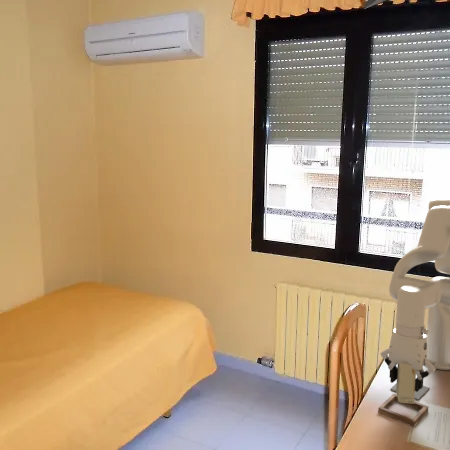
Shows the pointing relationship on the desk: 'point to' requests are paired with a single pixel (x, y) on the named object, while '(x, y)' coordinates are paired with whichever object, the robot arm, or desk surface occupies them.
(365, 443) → the desk surface
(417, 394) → the rubber mat
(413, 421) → the square wooden frame
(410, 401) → the skincare box
